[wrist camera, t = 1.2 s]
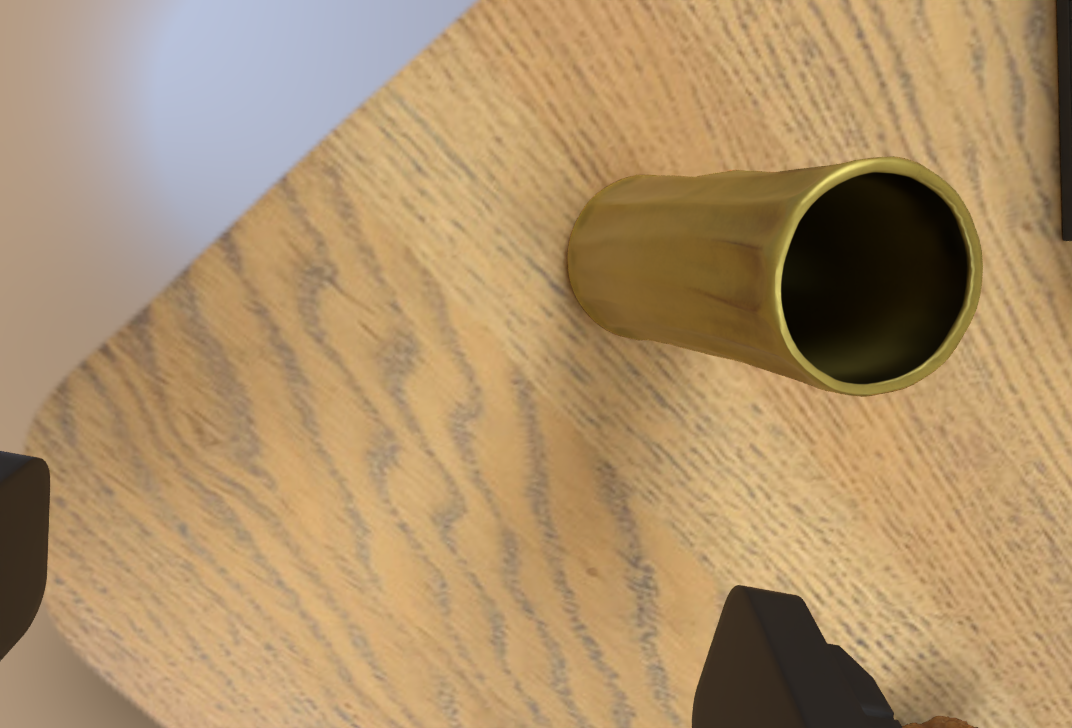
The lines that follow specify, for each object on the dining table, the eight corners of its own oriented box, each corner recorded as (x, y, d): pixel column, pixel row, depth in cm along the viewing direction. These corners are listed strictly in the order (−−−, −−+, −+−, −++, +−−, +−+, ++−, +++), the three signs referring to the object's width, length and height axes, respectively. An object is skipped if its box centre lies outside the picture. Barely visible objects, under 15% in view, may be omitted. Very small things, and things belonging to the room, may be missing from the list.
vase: (742, 292, 33) (1034, 338, 19) (607, 367, 32) (812, 469, 18) (680, 147, 31) (950, 84, 18) (537, 221, 31) (705, 213, 17)
